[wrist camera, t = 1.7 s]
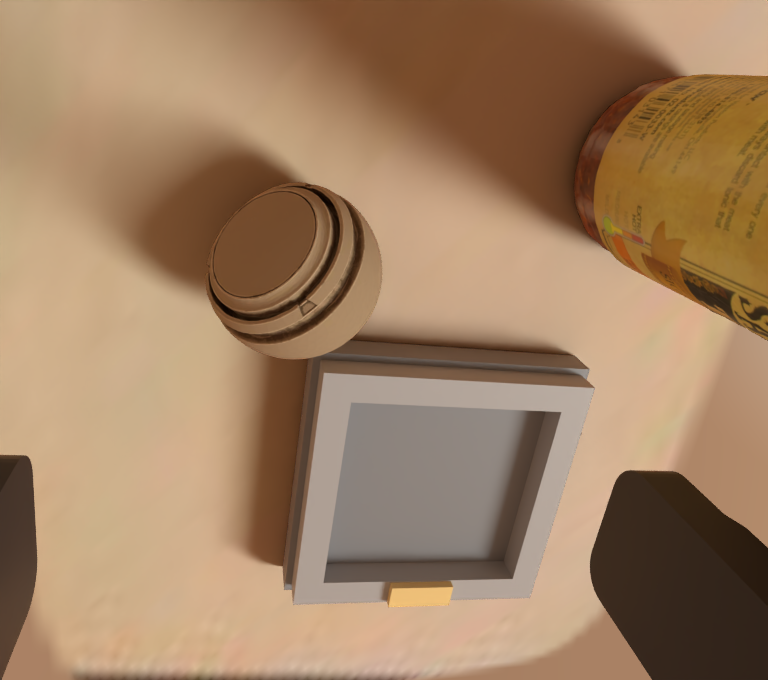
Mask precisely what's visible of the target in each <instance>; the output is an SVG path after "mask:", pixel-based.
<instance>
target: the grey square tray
mask: <svg viewBox="0 0 768 680" xmlns="http://www.w3.org/2000/svg"><path fill="white" fill-rule="evenodd" d="M589 370H590V369H589V368H587V367H586V366H585V365H584V364H583V363H582V362H581V361H580V360H579V359H578V358H577V357H575V356H573V355H558V354H543V353H529V352H514V351H500V350H485V349H471V348H456V347H442V346H427V345H413V344H398V343H384V342H369V341H355V340H349V341H347V342H346V343H345V344H343V345H342V346H340V347H338V348H337V349H335V350H333V351H331V352H328V353H326V354H323V355H320V356H316V357H312V358H308V364H307V372H306V381H305V389H304V397H303V405H302V413H301V422H300V430H299V438H298V446H297V454H296V463H295V471H294V479H293V487H292V495H291V504H290V512H289V520H288V528H287V536H286V545H285V553H284V561H283V579H284V590H292V597H293V605H301V604H336V603H371V602H387V603H388V607H408V606H440V605H449V603H450V600H475V599H510V598H530V596H531V593H532V590H533V587H534V583H535V580H536V577H537V574H538V570H539V567H540V564H541V561H542V558H543V554H544V551H545V548H546V545H547V541H548V538H549V535H550V532H551V528H552V525H553V522H554V519H555V516H556V512H557V509H558V506H559V503H560V499H561V496H562V493H563V490H564V487H565V483H566V480H567V477H568V474H569V470H570V467H571V464H572V461H573V457H574V454H575V451H576V448H577V445H578V441H579V438H580V435H581V432H582V428H583V425H584V422H585V419H586V416H587V412H588V409H589V406H590V403H591V399H592V396H593V393H594V390H595V388H594V387H593V386H592V385H591V384H590V383H589V382H588V381H587V377H588V373H589Z"/></svg>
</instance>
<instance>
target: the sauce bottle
mask: <svg viewBox="0 0 768 680" xmlns="http://www.w3.org/2000/svg"><path fill="white" fill-rule="evenodd" d="M574 192H575V203H576V208H577V210H578V212H579V216H580V218H581V220H582V223H583V225H584V228H585V229H586V231H587V232H588V234H589V235H590V236H591V237H592V238H593V239H594V240H596V241H597V242H598V243H599V244H600V245H601V246H602V247H603V248H605V249H606V250H608V251H610V252H611V253H612V254H613V256H614V257H615V258H616V259H617V260H618V261H620V262H621V263H622V264H624V265H625V266H627V267H629V268H631V269H632V270H634V271H636V272H638V273H640V274H642V275H644V276H646V277H648V278H650V279H652V280H654V281H655V282H657V283H659V284H661V285H663V286H665V287H667V288H669V289H671V290H673V291H675V292H677V293H679V294H681V295H683V296H685V297H687V298H689V299H690V300H692V301H694V302H696V303H698V304H700V305H702V306H704V307H706V308H708V309H709V310H711V311H712V312H714V313H717V314H719V315H721V316H723V317H726V318H727V319H729V320H731V321H733V322H735V323H736V324H738V325H740V326H743V327H745V328H747V329H748V330H750V331H751V332H753V333H755V334H757V335H759V336H760V337H762V338H764V339H765V340H768V76H746V75H709V74H704V75H692V76H688V77H687V76H681V77H671V78H666V79H660V80H655V81H652V82H650V83H647V84H645V85H641V86H640V87H638V88H637V89H636V90H634V91H632V92H630V93H629V94H627V95H626V96H624V97H622V98H621V99H618V100H617V101H616V102H615V103H614V104H613V105H611V106H610V107H609V108H608V109H607V110H606V111H605V112H604V113H603V114H602V115H601V117H600V118H599V120H598V121H597V123H596V124H595V125H594V126H593V127H592V129H591V130H590V132H589V134H588V137H587V140H586V142H585V143H584V145H583V147H582V150H581V151H580V154H579V161H578V165H577V168H576V172H575V183H574Z"/></svg>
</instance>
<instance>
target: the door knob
mask: <svg viewBox="0 0 768 680" xmlns="http://www.w3.org/2000/svg"><path fill="white" fill-rule="evenodd" d="M207 265H208V266H209V267H210V268H209V272H208V273H206V274H205V284H206V290H207V295H208V297H209V300H210V302H211V305H212V307H213V309H214V311H215V313H216V315H217V316H218V317H219V318H220V320H221V322H222V323H223V325H224V326H225V327H226V329H227V330H228V331H229V332H230V333H231V334H232V335H233V336H234V337H235V338H237V339H238V340H239V341H240V342H242V343H243V344H245V345H246V346H248V347H250V348H251V349H253V350H255V351H257V352H260V353H262V354H265V355H269V356H272V357H276V358H282V359H306V358H312V357H316V356H320V355H323V354H326V353H328V352H331V351H333V350H335V349H337V348H338V347H340V346H342V345H343V344H345V343H346V342H347V341H349V340H350V339H351V338H352V337H354V336H355V335H356V334H357V333H358V332H359V331H360V330H361V328H362V327H363V326H364V325H365V323H366V322H367V320H368V319H369V317H370V315H371V314H372V312H373V310H374V308H375V305H376V303H377V300H378V297H379V293H380V288H381V282H382V261H381V254H380V250H379V247H378V243H377V240H376V238H375V236H374V234H373V231H372V230H371V228H370V226H369V224H368V223H367V221H366V220H365V218H364V217H363V216H362V215H361V213H360V212H359V211H358V210H357V209H356V208H355V207H354V206H353V205H352V204H351V203H350V202H348V201H347V200H345V199H344V198H343V197H341V196H339V195H337V194H335V193H333V192H332V191H330V190H328V189H326V188H324V187H321V186H317V185H310V184H307V183H302V182H297V183H287V184H282V185H279V186H276V187H273V188H270V189H268V190H266V191H264V192H262V193H260V194H259V195H257V196H255V197H254V198H252V199H251V200H249V201H248V202H247V203H245V204H244V205H243V206H242V207H241V208H240V209H238V210H237V211H236V212H235V213H234V214H233V215H232V217H231V218H230V219H229V220H228V221H227V223H226V224H225V225H224V227H223V228H222V230H221V231H220V233H219V235H218V236H217V238H216V240H215V242H214V244H213V246H212V249H211V251H210V254H209V257H208V261H207Z"/></svg>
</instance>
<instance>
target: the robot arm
mask: <svg viewBox="0 0 768 680" xmlns="http://www.w3.org/2000/svg"><path fill="white" fill-rule="evenodd" d="M36 573H37V545H36V526H35V507H34V488H33V472H32V465H31V462H30V459H29V457H27V456H24V455H0V680H2V677H3V674H4V672H5V670H6V667H7V664H8V662H9V659H10V657H11V654H12V652H13V649H14V647H15V644H16V642H17V639H18V637H19V634H20V632H21V629H22V626H23V624H24V622H25V619H26V617H27V614H28V611H29V608H30V605H31V601H32V597H33V593H34V587H35V581H36ZM590 573H591V580H592V584H593V587H594V590H595V592H596V595H597V597H598V598H599V600H600V601H601V603H602V605H603V606H604V608H605V609H606V611H607V612H608V614H609V615H610V617H611V618H612V620H613V621H614V623H615V624H616V626H617V627H618V629H619V630H620V632H621V633H622V635H623V636H624V638H625V639H626V641H627V642H628V644H629V645H630V647H631V648H632V650H633V651H634V653H635V654H636V656H637V657H638V659H639V660H640V662H641V663H642V665H643V667H644V668H645V670H646V671H647V673H648V674H649V676H650V677H651V679H652V680H768V548H767V547H766V546H765V545H764V544H763V543H762V542H761V541H759V539H758V538H756V537H755V536H754V535H753V534H752V533H751V532H750V531H749V530H748V529H747V528H745V527H744V526H742V525H740V524H739V523H737V522H736V521H734V520H732V519H731V518H729V517H728V516H726V515H724V514H723V513H722V512H721V511H720V510H719V509H718V508H717V507H716V506H715V505H714V504H713V503H712V502H711V501H709V500H708V499H707V498H706V497H705V496H704V495H703V494H702V493H701V492H700V491H699V490H698V489H697V488H696V487H695V486H694V485H692V484H691V483H690V482H689V481H688V480H687V479H686V478H685V477H684V476H682V475H681V474H679V473H677V472H673V471H634V470H630V471H625V472H623V473H622V474H621V475H620V476H619V477H618V478H617V480H616V482H615V484H614V487H613V490H612V493H611V496H610V499H609V502H608V505H607V508H606V511H605V514H604V517H603V520H602V523H601V526H600V529H599V532H598V535H597V538H596V541H595V544H594V547H593V550H592V554H591V559H590Z"/></svg>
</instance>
